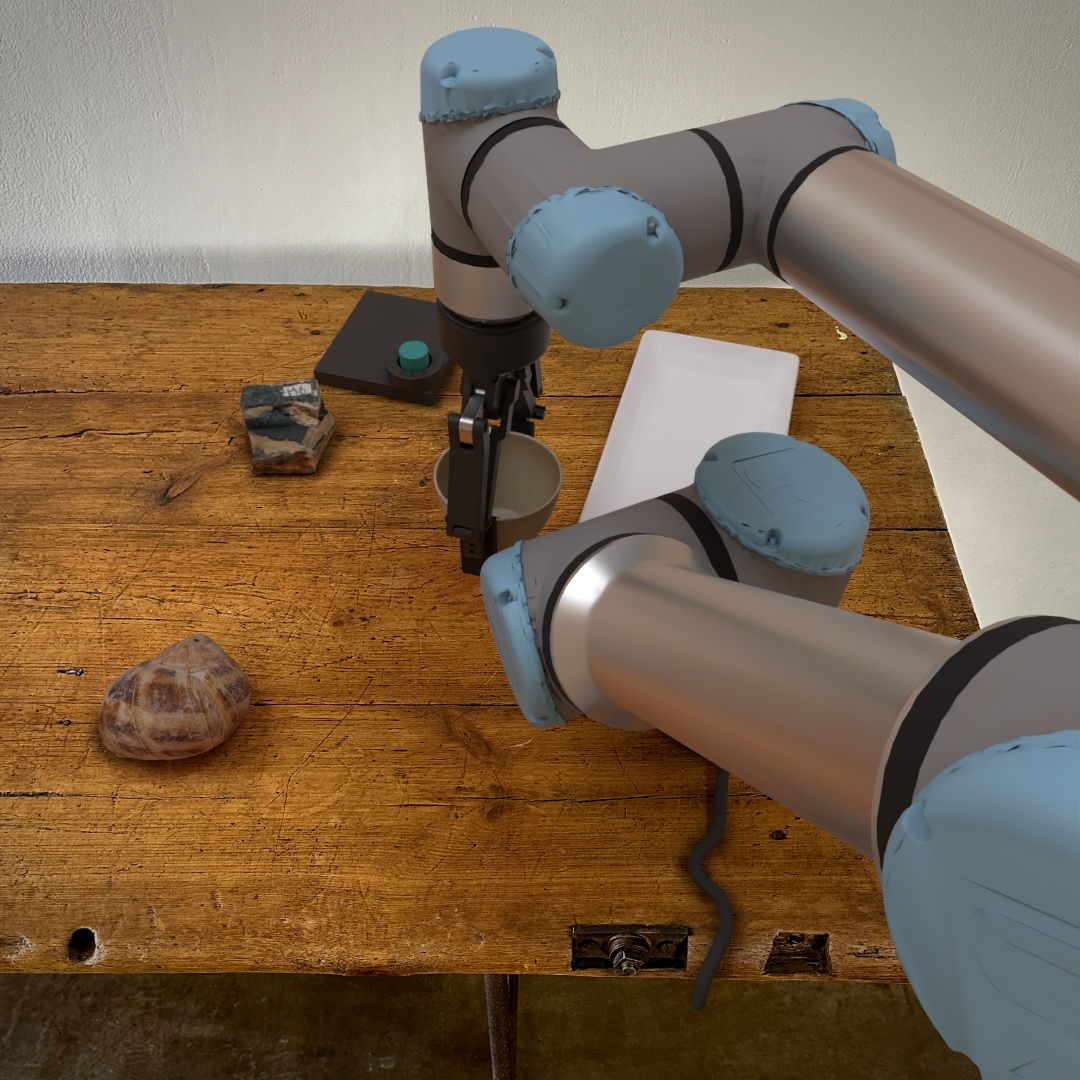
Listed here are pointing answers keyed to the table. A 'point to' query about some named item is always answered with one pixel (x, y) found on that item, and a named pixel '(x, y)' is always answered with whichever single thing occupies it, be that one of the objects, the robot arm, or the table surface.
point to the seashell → (175, 702)
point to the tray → (686, 413)
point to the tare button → (414, 356)
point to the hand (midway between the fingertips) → (499, 524)
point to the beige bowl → (516, 487)
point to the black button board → (386, 349)
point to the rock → (286, 426)
